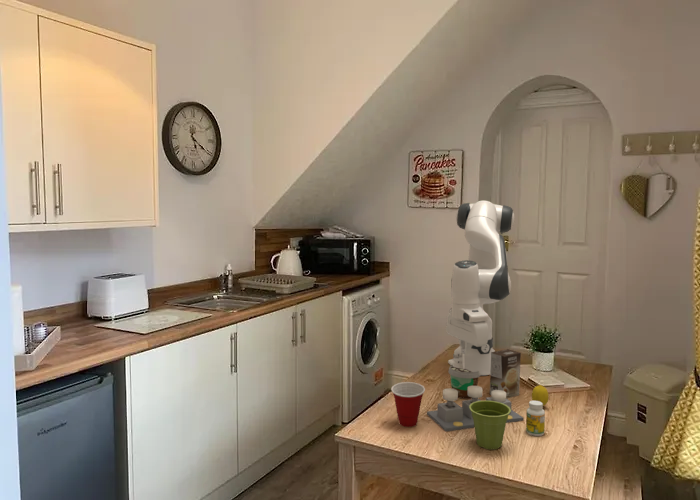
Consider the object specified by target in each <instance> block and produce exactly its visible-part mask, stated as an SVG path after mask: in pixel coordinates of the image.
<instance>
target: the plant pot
mask: <svg viewBox="0 0 700 500" xmlns="http://www.w3.org/2000/svg"><path fill="white" fill-rule="evenodd" d="M469 409H470V410H471V412H472V417H473V421H474V428H473V429H474V434H475V435H474V436H475V441H476V444H477V446H478V447H480V448H483V449H485V450H498V449H499V448H501V447H502V446H503V440H504V435H505V430H506V425H507V423H506V421H507V419H508V415H509V414H510V412H511V410H512V408H511V409H510V407H508V406H507V405H505V404H503V403H500V402H496V401H486V400H481V401H476V402H473V403H471V404H470V406H469Z"/></svg>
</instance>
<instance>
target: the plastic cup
mask: <svg viewBox="0 0 700 500" xmlns="http://www.w3.org/2000/svg"><path fill="white" fill-rule="evenodd" d="M390 391H391V392H392V393H393V394H392V395H393V398H394V402H395V411H396V414H397V419H398V424H399V425H400V426H402V427H406V428H412V427H415V426H417V424H418V420H419V416H420V411H421V406H422V405H421V404H422V399H423V395H424V393H425V391H426V388H425V386H424V385H422V384H420V383H419V382H418V383H417V382H411V381H405V382H404V381H403V382H398V383H395V384H394V385H392V386H391V390H390Z"/></svg>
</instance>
